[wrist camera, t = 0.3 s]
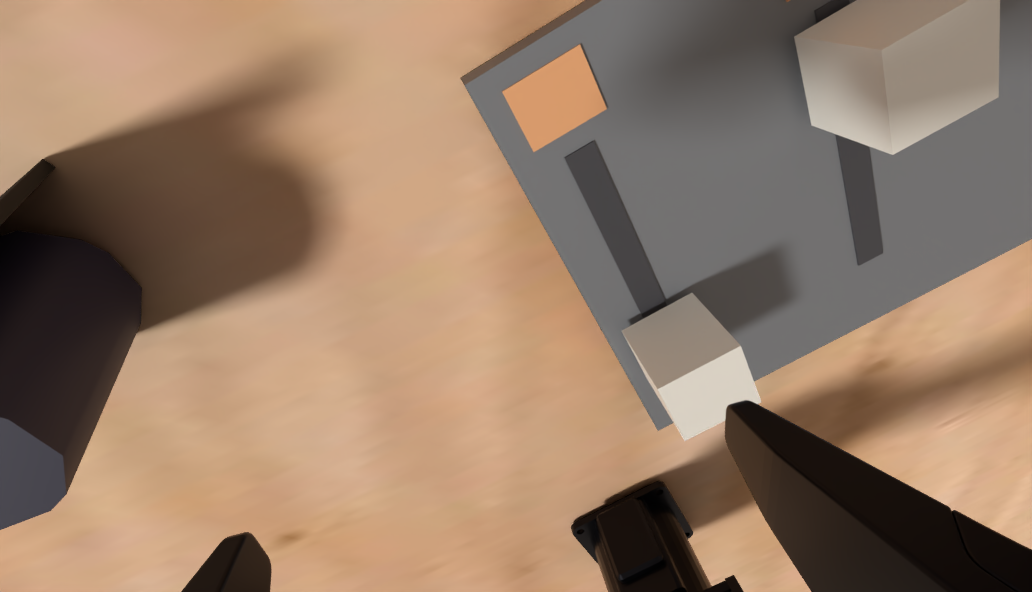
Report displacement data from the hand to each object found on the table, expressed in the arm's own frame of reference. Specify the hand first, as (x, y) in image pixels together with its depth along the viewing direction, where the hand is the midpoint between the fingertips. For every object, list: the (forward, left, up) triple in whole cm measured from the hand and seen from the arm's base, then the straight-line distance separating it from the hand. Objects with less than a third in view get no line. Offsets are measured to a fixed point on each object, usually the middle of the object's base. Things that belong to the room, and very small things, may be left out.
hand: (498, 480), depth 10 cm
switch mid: (-2, -16, -12) cm, 20 cm away
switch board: (-6, -16, -14) cm, 22 cm away
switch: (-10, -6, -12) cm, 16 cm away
